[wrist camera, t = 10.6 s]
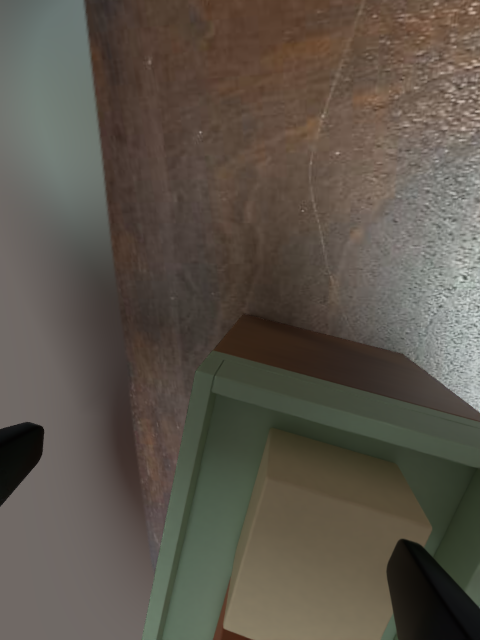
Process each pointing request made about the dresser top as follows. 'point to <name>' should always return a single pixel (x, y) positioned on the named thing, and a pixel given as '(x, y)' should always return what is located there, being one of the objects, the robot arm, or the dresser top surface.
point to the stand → (341, 363)
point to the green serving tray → (244, 460)
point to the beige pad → (319, 543)
